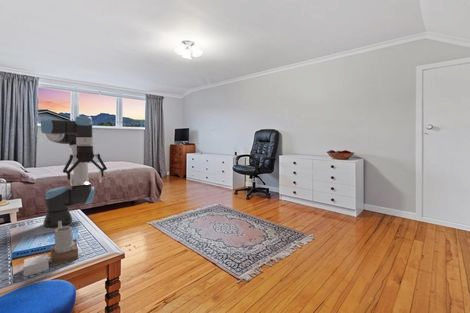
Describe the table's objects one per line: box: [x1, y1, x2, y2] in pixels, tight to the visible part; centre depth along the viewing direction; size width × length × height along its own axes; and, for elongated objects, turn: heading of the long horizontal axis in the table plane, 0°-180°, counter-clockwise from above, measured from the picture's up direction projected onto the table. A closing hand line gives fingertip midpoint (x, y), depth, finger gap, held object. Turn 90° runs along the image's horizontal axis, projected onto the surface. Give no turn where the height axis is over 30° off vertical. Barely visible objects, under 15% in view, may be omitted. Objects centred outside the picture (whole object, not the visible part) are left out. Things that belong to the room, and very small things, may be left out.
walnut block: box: [49, 240, 79, 267], centre depth 111 cm, size 10×10×5 cm
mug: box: [53, 221, 74, 253], centre depth 110 cm, size 8×12×12 cm, turn 50°
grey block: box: [22, 253, 50, 277], centre depth 101 cm, size 8×8×4 cm
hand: (86, 184), depth 128 cm, fingers open, 13 cm apart
